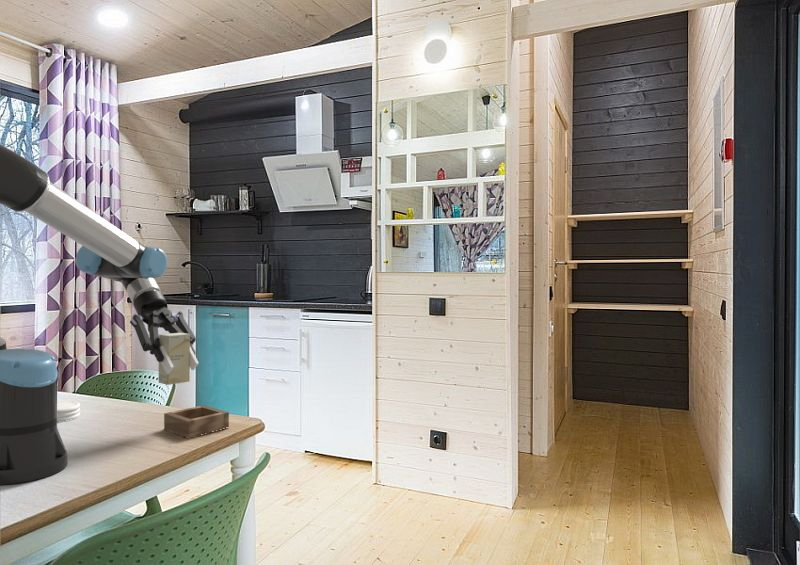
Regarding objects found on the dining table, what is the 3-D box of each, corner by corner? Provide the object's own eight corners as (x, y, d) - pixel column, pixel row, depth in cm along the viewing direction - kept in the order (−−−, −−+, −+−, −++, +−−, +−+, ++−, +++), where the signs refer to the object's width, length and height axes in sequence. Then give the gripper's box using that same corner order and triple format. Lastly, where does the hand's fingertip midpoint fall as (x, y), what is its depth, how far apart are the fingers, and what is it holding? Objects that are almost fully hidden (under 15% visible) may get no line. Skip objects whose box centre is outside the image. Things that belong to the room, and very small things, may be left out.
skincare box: (168, 385, 139) (168, 336, 138) (157, 383, 142) (157, 334, 141) (190, 381, 144) (190, 333, 144) (180, 378, 147) (180, 331, 146)
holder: (188, 438, 135) (188, 421, 134) (164, 429, 141) (164, 413, 141) (228, 428, 143) (228, 412, 143) (203, 420, 150) (203, 405, 150)
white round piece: (65, 424, 145) (65, 410, 145) (27, 423, 146) (26, 409, 146) (87, 414, 155) (87, 401, 155) (51, 413, 156) (51, 400, 156)
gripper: (174, 305, 159) (209, 372, 150) (105, 309, 143) (139, 384, 134) (186, 287, 155) (222, 354, 146) (116, 289, 140) (152, 364, 131)
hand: (183, 368), depth 140 cm, fingers closed on skincare box, 6 cm apart
